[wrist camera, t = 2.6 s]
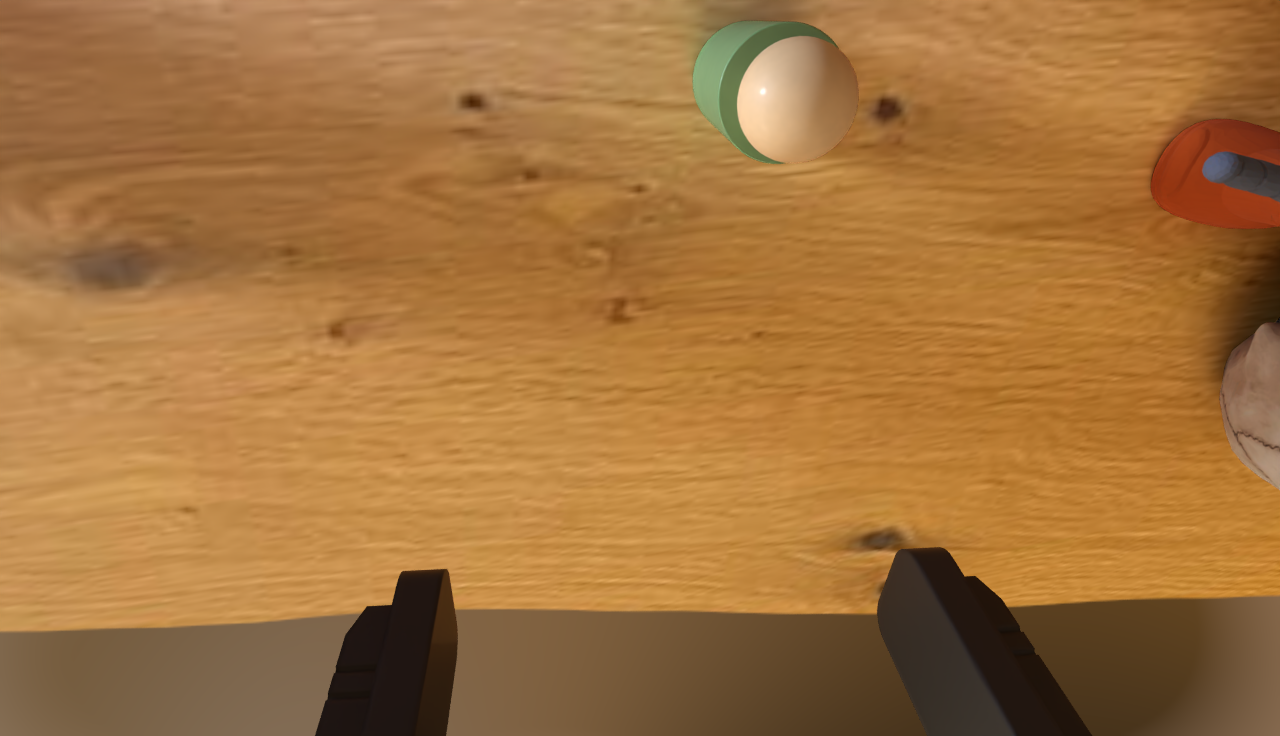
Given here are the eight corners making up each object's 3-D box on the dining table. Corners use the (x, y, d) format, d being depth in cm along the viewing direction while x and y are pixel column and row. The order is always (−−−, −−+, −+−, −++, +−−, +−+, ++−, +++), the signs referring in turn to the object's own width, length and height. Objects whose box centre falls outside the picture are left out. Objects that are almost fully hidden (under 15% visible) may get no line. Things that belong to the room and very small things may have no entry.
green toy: (716, 151, 32) (768, 211, 22) (675, 52, 30) (713, 69, 20) (810, 105, 32) (907, 145, 22) (775, 0, 30) (864, -9, 20)
